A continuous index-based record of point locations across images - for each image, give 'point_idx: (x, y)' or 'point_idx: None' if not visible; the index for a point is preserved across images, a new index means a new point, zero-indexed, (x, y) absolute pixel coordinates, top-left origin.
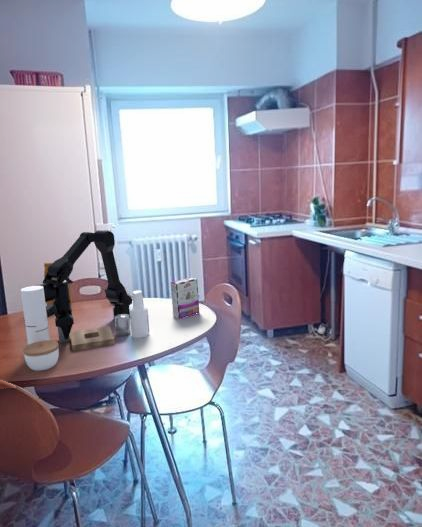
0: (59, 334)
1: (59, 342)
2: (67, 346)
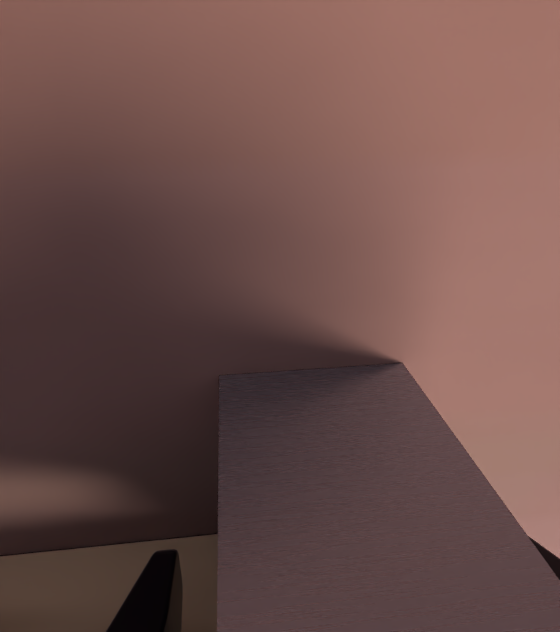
0: (223, 552)
1: (220, 396)
2: (60, 494)
